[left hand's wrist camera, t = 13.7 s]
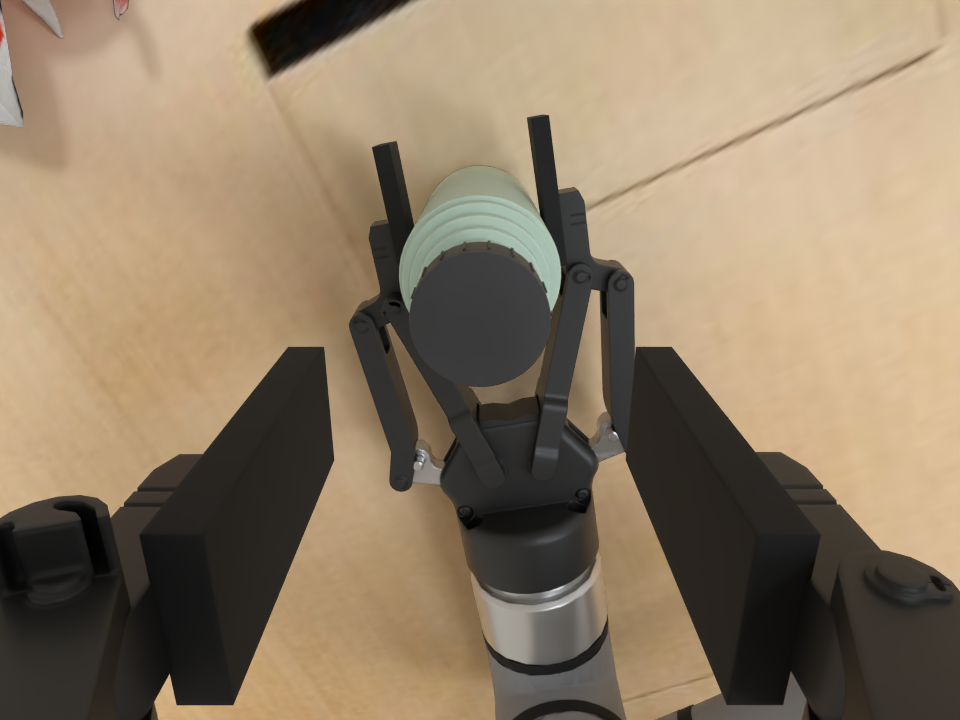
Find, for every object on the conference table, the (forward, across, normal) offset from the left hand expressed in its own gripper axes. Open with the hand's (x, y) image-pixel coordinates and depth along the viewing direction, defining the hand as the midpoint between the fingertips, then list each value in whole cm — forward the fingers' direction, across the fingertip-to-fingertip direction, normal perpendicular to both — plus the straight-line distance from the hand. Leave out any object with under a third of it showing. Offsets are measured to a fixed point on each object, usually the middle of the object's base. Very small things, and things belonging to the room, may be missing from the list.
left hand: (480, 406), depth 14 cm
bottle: (+24, 0, 0) cm, 24 cm away
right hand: (+18, +1, -5) cm, 19 cm away
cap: (+6, 0, 0) cm, 6 cm away
